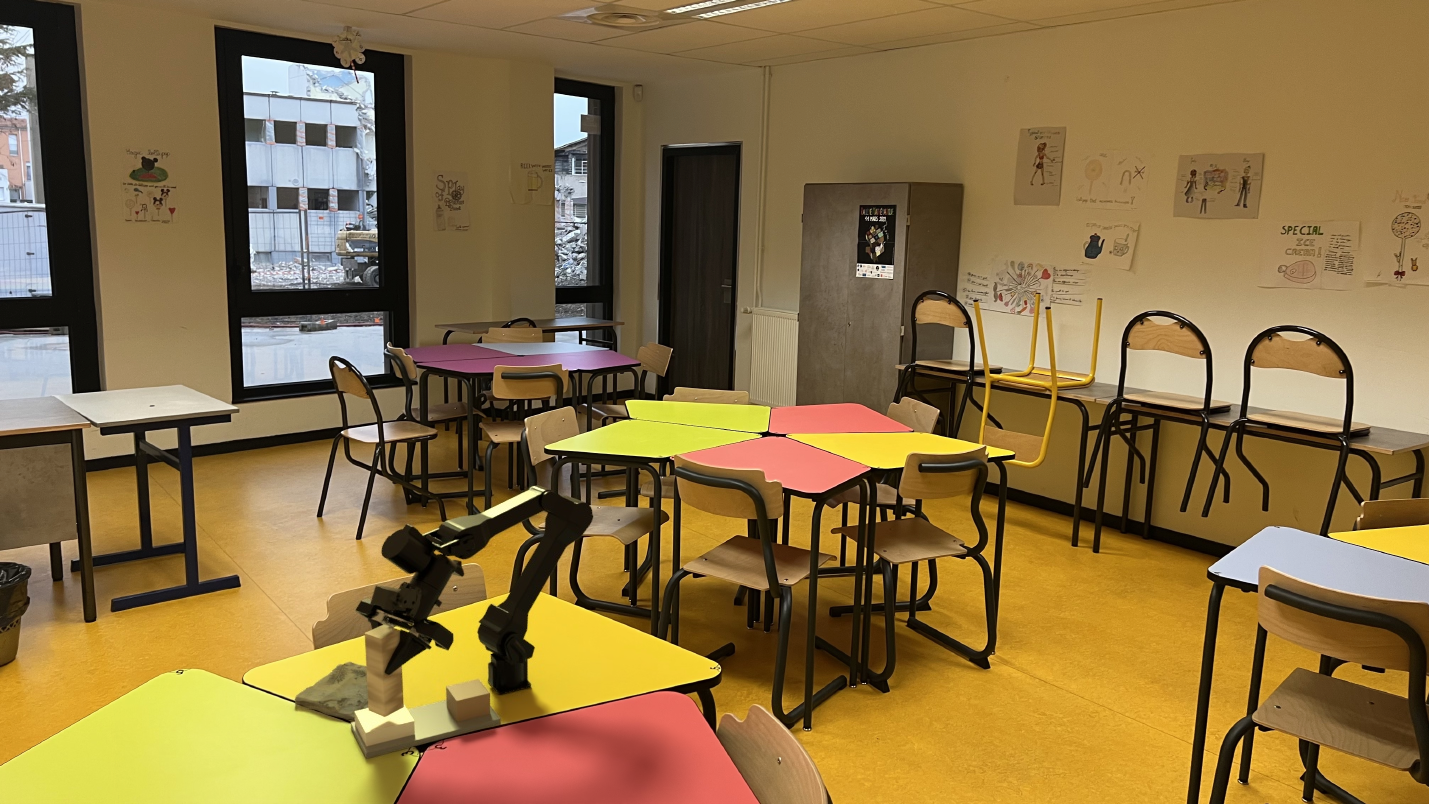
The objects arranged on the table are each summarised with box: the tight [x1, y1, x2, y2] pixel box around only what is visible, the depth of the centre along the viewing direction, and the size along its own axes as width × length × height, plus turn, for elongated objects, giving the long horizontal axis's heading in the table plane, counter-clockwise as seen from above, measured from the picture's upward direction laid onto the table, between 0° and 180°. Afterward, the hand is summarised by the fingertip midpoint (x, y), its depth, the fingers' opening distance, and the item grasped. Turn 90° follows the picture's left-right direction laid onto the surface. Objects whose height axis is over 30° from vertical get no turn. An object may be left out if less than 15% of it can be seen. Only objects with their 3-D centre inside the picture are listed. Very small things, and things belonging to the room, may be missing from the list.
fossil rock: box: [294, 661, 368, 721], centre depth 185 cm, size 18×15×2 cm
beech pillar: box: [364, 625, 405, 717], centre depth 167 cm, size 4×4×14 cm
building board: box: [350, 678, 502, 759], centre depth 174 cm, size 23×11×5 cm, turn 122°
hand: (377, 670), depth 166 cm, fingers closed on beech pillar, 4 cm apart
